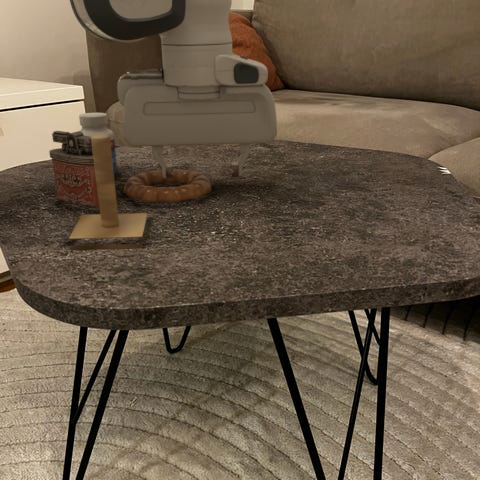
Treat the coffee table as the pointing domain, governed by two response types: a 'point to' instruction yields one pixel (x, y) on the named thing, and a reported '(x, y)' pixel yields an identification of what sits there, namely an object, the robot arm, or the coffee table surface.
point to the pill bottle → (98, 130)
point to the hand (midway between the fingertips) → (202, 177)
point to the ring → (141, 190)
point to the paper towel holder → (107, 206)
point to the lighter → (74, 168)
